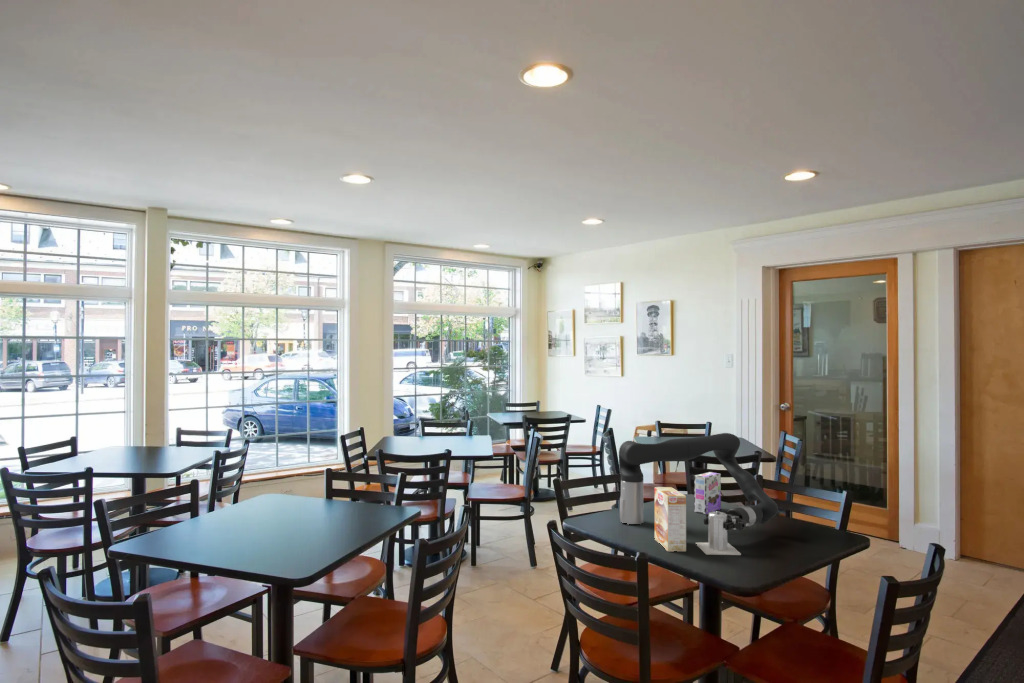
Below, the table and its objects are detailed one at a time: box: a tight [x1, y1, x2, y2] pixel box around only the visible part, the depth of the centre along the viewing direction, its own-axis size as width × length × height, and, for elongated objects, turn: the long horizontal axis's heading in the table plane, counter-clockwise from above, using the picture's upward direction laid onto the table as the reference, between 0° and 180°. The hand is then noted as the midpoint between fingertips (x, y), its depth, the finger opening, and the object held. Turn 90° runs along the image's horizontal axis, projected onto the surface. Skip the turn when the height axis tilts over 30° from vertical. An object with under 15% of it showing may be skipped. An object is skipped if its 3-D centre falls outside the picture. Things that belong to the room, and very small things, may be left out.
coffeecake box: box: [653, 486, 687, 553], centre depth 213 cm, size 15×7×20 cm, turn 4°
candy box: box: [693, 471, 722, 515], centre depth 264 cm, size 14×6×16 cm, turn 132°
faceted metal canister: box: [707, 510, 728, 551], centre depth 209 cm, size 6×6×13 cm
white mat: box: [695, 541, 742, 556], centre depth 209 cm, size 12×12×1 cm
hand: (715, 524), depth 208 cm, fingers open, 8 cm apart
